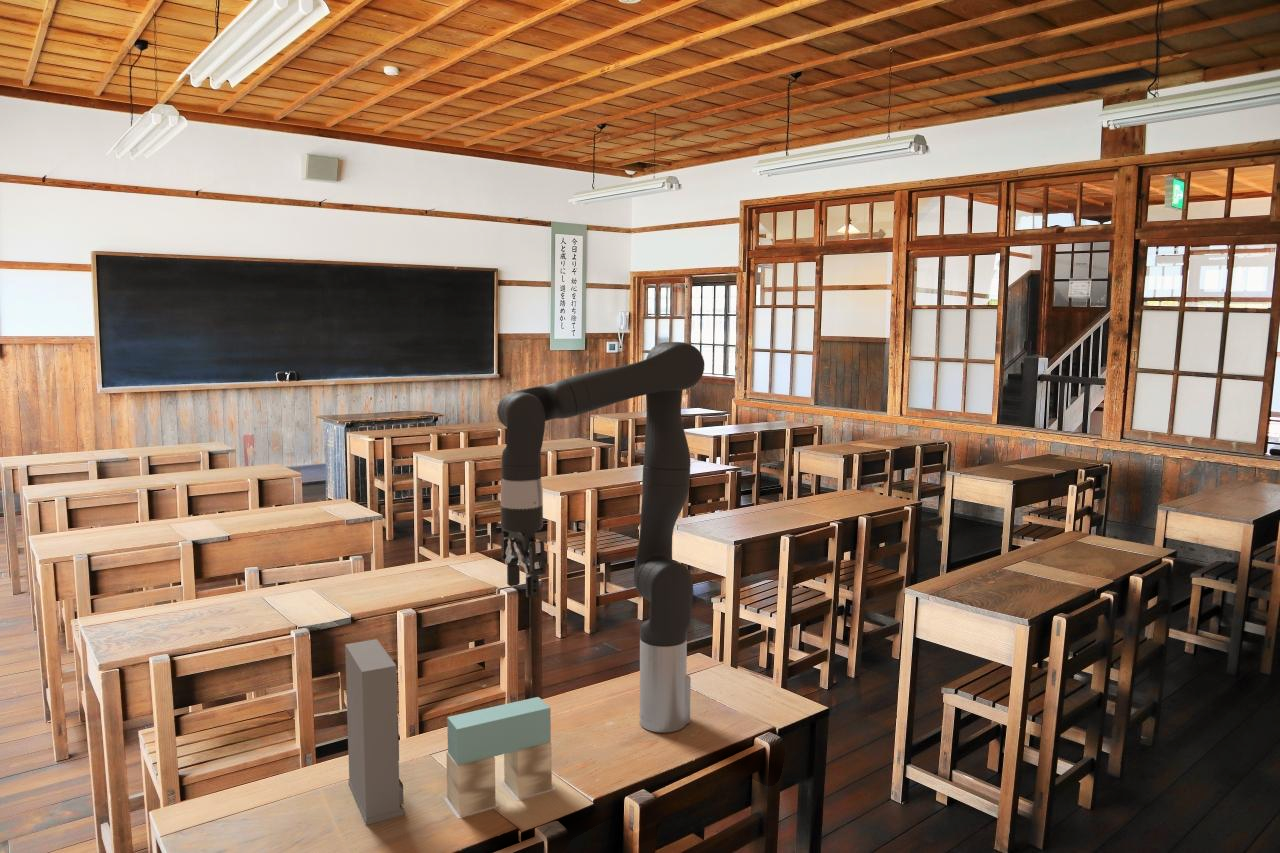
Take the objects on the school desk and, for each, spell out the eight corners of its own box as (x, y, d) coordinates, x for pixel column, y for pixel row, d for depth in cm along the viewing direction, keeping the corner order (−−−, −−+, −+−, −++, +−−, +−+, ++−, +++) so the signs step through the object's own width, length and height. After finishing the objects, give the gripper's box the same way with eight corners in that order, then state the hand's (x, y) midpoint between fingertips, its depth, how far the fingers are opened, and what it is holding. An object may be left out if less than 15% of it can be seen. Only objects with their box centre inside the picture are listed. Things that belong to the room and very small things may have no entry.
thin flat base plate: (542, 768, 149) (542, 765, 149) (567, 793, 140) (567, 790, 140) (431, 799, 138) (431, 796, 138) (451, 829, 130) (451, 826, 130)
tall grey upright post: (405, 817, 133) (402, 665, 131) (365, 828, 130) (361, 672, 128) (385, 778, 145) (381, 638, 143) (348, 787, 142) (344, 644, 140)
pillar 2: (536, 773, 146) (536, 729, 145) (551, 788, 141) (551, 743, 140) (504, 782, 143) (503, 737, 142) (518, 798, 138) (518, 752, 137)
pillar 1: (482, 788, 141) (481, 743, 140) (495, 805, 136) (494, 758, 135) (447, 798, 138) (446, 751, 137) (459, 816, 132) (458, 767, 132)
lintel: (538, 730, 145) (538, 696, 144) (550, 742, 140) (550, 707, 140) (447, 752, 137) (447, 717, 136) (457, 765, 132) (456, 729, 132)
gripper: (558, 507, 147) (558, 597, 148) (525, 495, 159) (525, 578, 160) (518, 511, 143) (519, 604, 144) (487, 498, 155) (488, 584, 157)
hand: (522, 590), depth 152 cm, fingers open, 8 cm apart
